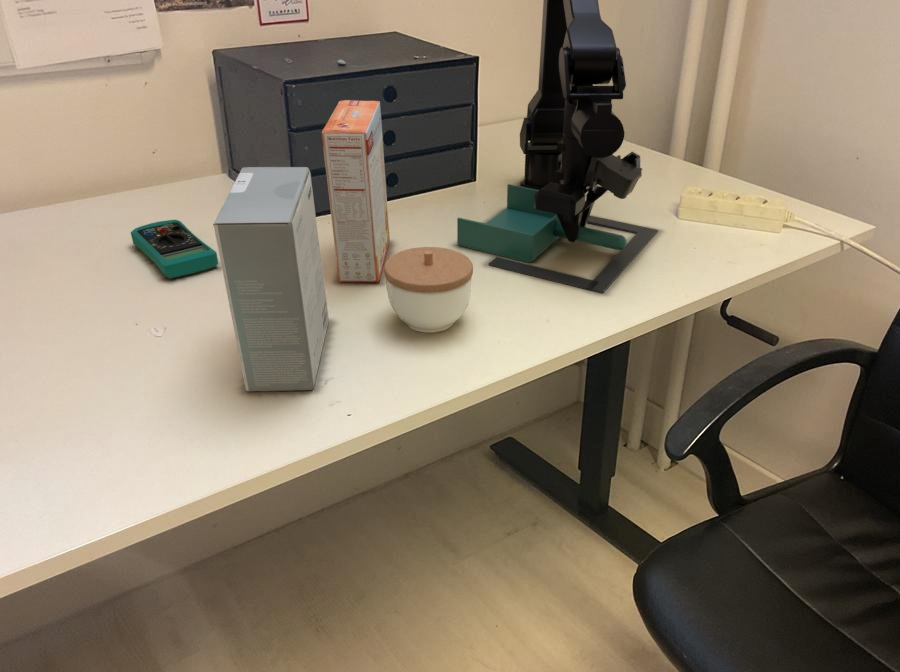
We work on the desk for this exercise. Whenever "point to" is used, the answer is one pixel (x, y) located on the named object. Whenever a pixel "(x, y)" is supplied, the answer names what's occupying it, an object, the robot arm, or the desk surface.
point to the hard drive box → (274, 277)
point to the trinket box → (429, 287)
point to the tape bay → (605, 275)
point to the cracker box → (357, 189)
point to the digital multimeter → (174, 248)
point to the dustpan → (525, 230)
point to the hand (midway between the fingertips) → (575, 238)
